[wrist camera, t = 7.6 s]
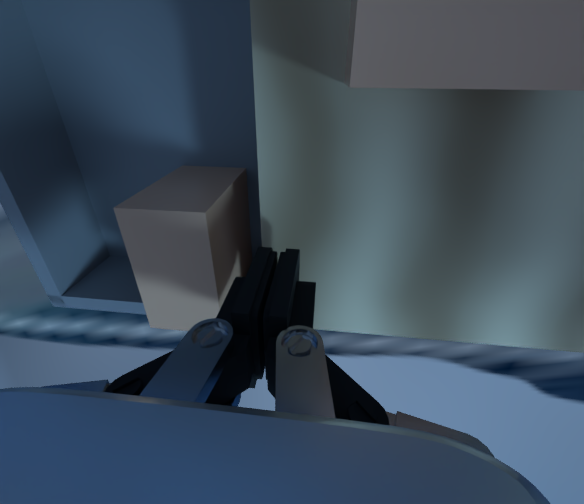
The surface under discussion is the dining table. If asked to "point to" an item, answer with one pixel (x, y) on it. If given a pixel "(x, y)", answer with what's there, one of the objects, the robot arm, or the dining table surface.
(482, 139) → the pale green square panel
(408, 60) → the tile
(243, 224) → the tile
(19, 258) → the dining table surface
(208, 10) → the tray
